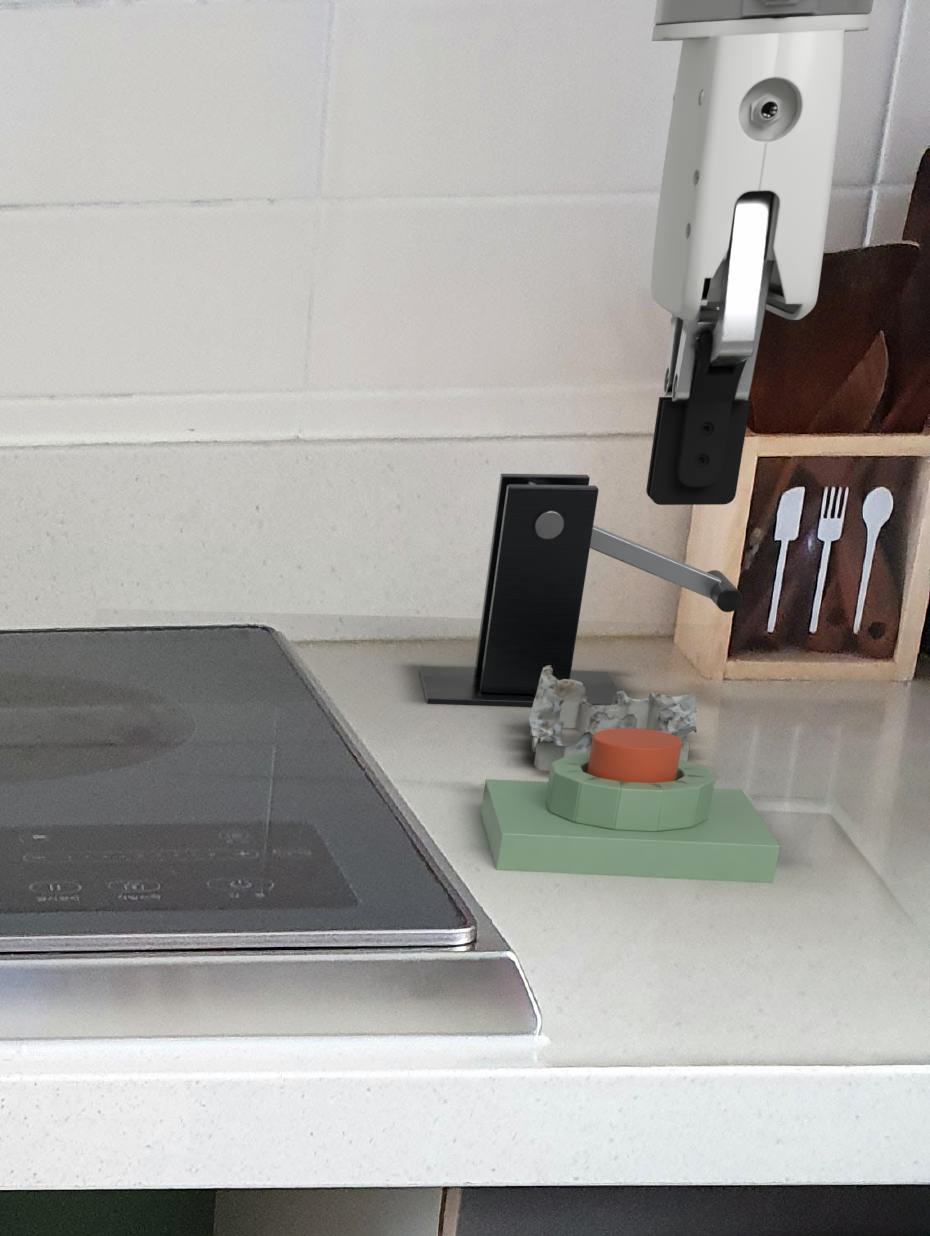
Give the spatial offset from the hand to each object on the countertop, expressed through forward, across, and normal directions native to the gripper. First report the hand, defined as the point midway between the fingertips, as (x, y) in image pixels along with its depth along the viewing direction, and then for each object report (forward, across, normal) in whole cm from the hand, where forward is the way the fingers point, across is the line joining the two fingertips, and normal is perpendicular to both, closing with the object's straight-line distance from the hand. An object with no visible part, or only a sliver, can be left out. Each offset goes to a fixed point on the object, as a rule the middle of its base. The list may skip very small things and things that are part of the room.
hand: (689, 500), depth 93 cm
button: (+11, 0, +1) cm, 12 cm away
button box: (+15, 0, +1) cm, 15 cm away
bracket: (+15, +27, +3) cm, 31 cm away
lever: (+8, +27, -1) cm, 28 cm away
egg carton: (+15, +13, 0) cm, 20 cm away
